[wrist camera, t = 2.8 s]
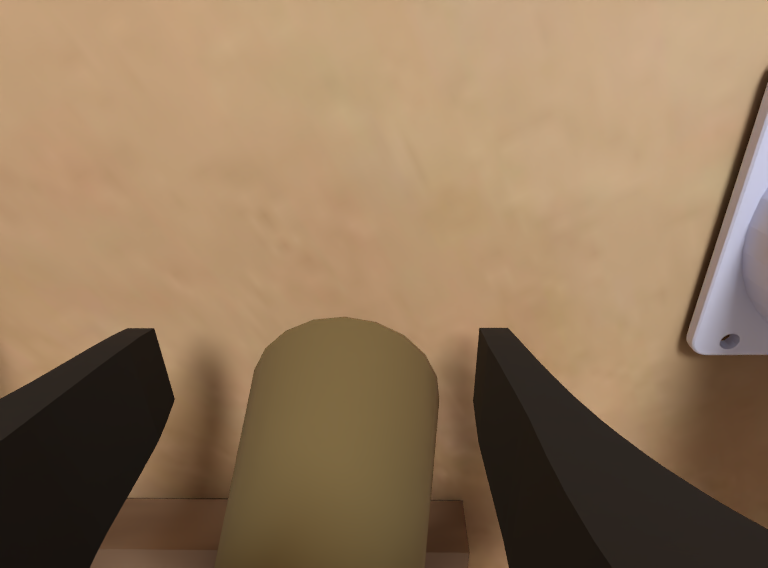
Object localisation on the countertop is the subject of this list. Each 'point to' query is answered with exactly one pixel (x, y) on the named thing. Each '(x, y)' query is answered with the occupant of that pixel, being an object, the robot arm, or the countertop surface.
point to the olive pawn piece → (334, 452)
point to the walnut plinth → (204, 525)
